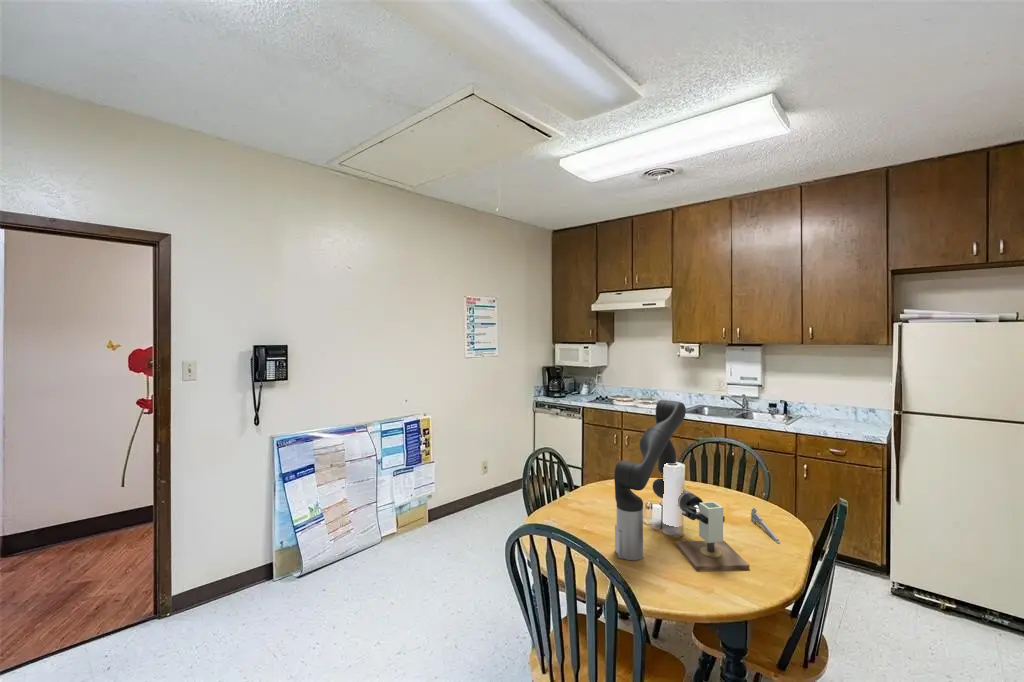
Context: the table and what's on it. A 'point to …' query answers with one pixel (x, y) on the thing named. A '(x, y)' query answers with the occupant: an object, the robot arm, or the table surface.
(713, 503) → the sleeve
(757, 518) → the caliper
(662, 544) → the table surface
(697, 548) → the post stand
